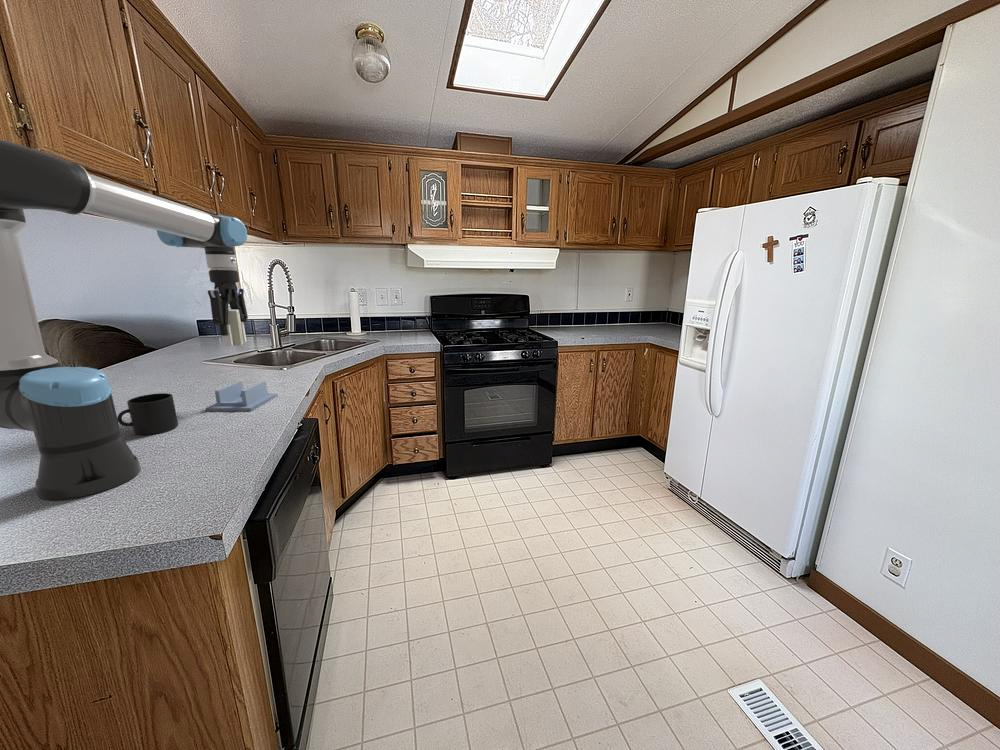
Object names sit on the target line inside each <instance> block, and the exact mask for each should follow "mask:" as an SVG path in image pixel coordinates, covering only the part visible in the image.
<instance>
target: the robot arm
mask: <svg viewBox="0 0 1000 750" xmlns="http://www.w3.org/2000/svg"><path fill="white" fill-rule="evenodd" d="M24 210H44V211H45V210H46V211H55V212H60V213H65V214H69V215H73V216H74V215H75V216H77V215H81V214H82V213H86V214H91V215H95V216H99V217H101V218H105V219H106V218H107V219H111V220H115V221H119V222H124V223H127V224H130V225H134V226H135V225H136V226H137V227H138V226H139V227H143V228H147V229H151V230H155V231H156V232H157V233H156V234H157V235H156V236H157V237H158V238H159V240H160V241H161V242H162V243H163V244H164V245H166V246H171V247H176V248H192V249H193V248H195V249H196V248H197V249H204V253H205V254H204V255H205V260H206V266H207V268H208V269H209V271H208V276H209V281H210V283H214V287H213V288H214V289H211V290H208V291H207V295H208V297H209V301H210V308H211V310H210V311H211V317H212V323H213V324H214V325H215V326H219V331H220V335H221V340H222V346H224V347H232V346H233V340H232V334H231V328H230V325H227V324H228V310H229V308H230V310H231V309H238V310H239V314H240V321H241V327H242V335H243V342H244V343H247V335H246V329H245V323H247V322H248V319H249V316H248V311H247V306H246V301H245V294H244V293H245V291H244V288H238V286H237V283H240V278H239V271H238V270H237V268H238V266H237V265H238V263H237V258H236V251H235V247H240V246H242V245H244V244H245V243H246V242H247V239H248V230H247V227H246V225H245V224H244V223H243V221H242V220H240V219H239V218H237V217H234V216H228V215H225V216H224V215H217V214H212V213H209V212H206V211H203V210H200V209H197V208H193V207H191V206H188V205H185V204H182V203H179V202H175V201H172V200H170V199H167V198H163V197H161V196H158V195H155V194H151V193H148V192H145V191H142V190H139V189H137V188H133V187H131V186H127V185H124V184H121V183H119V182H116V181H112V180H110V179H106V178H104V177H100V176H98V175H94V174H91V173H88V171H87V170H86V169H85V168H84V167H83V166H82V165H80V164H77V163H75V162H72V161H69V160H66V159H63V158H60V157H58V156H54V155H53V154H48V153H45V152H43V151H41V150H37V149H34V148H31V147H28V146H24V145H22V144H18V143H16V142H12V141H7V140H3V139H0V428H1V429H7V430H8V429H9V430H22V431H29V432H33V435H34V438H35V441H36V444H37V448H38V451H39V454H40V457H39V464H38V465H39V466H38V473H37V474H38V475H37V478H36V481H35V483H34V485H35V490H36V493H37V496H38V497H39V498H40V499H43V500H48V501H49V500H50V501H59V500H69V499H76V498H81V497H85V496H89V495H94V494H97V493H98V494H99V493H101V492H103V491H104V492H105V491H107V490H110V489H113V488H115V487H118V486H120V485H122V484H124V483H126V482H128V481H130V480H132V479H133V478H135V477H136V476H137V475H138V474H140V472H141V464H140V461H139V458H138V456H136V455H134V453H133V451H132V450H131V448H130V447H129V445H128V444H127V442H126V441H125V440H124V439H123V435H122V433H121V429H120V423H119V422H118V419H117V418H118V415H117V411H116V407H115V403H114V398H113V395H112V391H113V390H112V386H111V385H110V382H109V380H108V377H107V375H106V374H105V373H104V372H103V371H102V370H99V369H97V368H93V367H86V366H74V367H73V366H72V367H71V366H60V364H59V360H58V359H57V358H55V357H52V356H50V355H49V354H47V353H46V352H45V351H46V349H45V347H44V342H43V338H42V333H41V329H40V325H39V322H38V320H39V319H38V317H37V313H36V309H35V304H34V300H33V296H32V291H31V287H30V286H31V285H30V283H29V278H28V275H27V274H28V273H27V270H26V266H25V261H24V257H23V252H22V248H21V245H20V240H19V236H18V233H19V232H20V231H21V230H22V229H24V228H25V227H26V226H27V221H26V217H25V212H24ZM223 320H224V321H223Z"/></svg>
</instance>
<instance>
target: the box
mask: <svg viewBox="0 0 1000 750" xmlns="http://www.w3.org/2000/svg"><path fill="white" fill-rule="evenodd" d="M223 321H224V320H223ZM227 325H230V328H231V334H232V340H233V346H243V345H244V343H245V342H243V335H242V327H241V321H240V314H239V310H238V309H231V308H230V309H228V324H227Z"/></svg>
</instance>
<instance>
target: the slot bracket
mask: <svg viewBox="0 0 1000 750" xmlns="http://www.w3.org/2000/svg"><path fill="white" fill-rule="evenodd" d="M214 394H215V399H216V400H215V401H216V403H214V404H212V405H210V406H207V407H205V412H252V411H254V410H256V409H257V408H259V407H262V406H264V405H265V404H267V403H268V402H270V401H272V400H274V399H276V398H277V397H279V395H278V393H268V387H267V381H266V380H265V381H264V380H262V381H260V382H258V383H256V384H253V385H251V386H249V387H247V388H245V389H244V387H243V381H242V380H241V381H240V380H238V381H236V382H233V383H231V384H227V385H226V386H224V387H221V388H218V389H216V390H214ZM276 396H277V397H276ZM275 397H276V398H275ZM273 398H274V399H273ZM271 399H272V400H271ZM266 402H267V403H266Z"/></svg>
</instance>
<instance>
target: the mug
mask: <svg viewBox="0 0 1000 750" xmlns="http://www.w3.org/2000/svg"><path fill="white" fill-rule="evenodd" d="M126 404H127V407H128V408H127V409H124V410H122V411H121V412H119V414H118V415H117V419H118V423H119V425H121V426H123V427H132V429H133V430H132V431H133V433H134V434H135V435H139V436H150V435H151V436H152V435H159V434H162V433H167V432H169V431H171V430H174V429H175V428H177V427H178V426H179V421H178V416H177V411H176V407H175V401H174V396H173V394H171V393H167V392H165V393H164V392H162V393H150V394H145V395H144V394H143V395H140V396H136V397H133V398H130V399H128V400H127V401H126ZM127 413H128V414H129V416H130V422H125V421H124V420H123V417H124V415H125V414H127Z"/></svg>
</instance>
